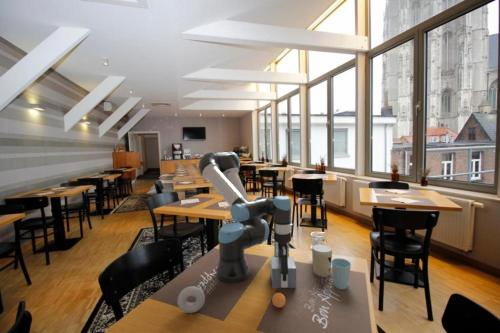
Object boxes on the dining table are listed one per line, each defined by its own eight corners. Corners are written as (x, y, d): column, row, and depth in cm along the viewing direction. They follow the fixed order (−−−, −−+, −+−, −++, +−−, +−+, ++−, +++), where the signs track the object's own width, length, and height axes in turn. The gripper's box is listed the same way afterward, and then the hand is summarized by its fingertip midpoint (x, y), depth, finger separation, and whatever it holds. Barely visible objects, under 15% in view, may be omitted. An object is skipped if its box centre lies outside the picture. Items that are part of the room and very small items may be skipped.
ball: (269, 306, 92) (269, 294, 92) (277, 300, 96) (277, 288, 95) (280, 312, 89) (280, 299, 88) (288, 305, 93) (288, 293, 92)
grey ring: (177, 317, 88) (176, 291, 87) (178, 310, 91) (177, 285, 90) (205, 313, 89) (204, 287, 88) (205, 307, 93) (204, 282, 92)
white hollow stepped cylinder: (325, 263, 123) (325, 234, 122) (311, 262, 125) (311, 234, 123) (323, 256, 130) (323, 229, 129) (310, 256, 132) (310, 229, 130)
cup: (343, 279, 109) (344, 257, 108) (354, 289, 101) (354, 266, 100) (328, 281, 108) (328, 259, 106) (337, 292, 100) (337, 268, 99)
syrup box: (281, 252, 137) (280, 227, 135) (289, 255, 133) (289, 230, 131) (274, 255, 133) (274, 230, 132) (282, 259, 129) (282, 232, 127)
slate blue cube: (272, 288, 104) (272, 268, 103) (270, 275, 114) (270, 257, 113) (296, 287, 103) (296, 268, 103) (292, 274, 114) (292, 256, 113)
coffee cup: (333, 278, 110) (333, 253, 109) (312, 276, 112) (312, 251, 111) (330, 267, 119) (331, 244, 118) (311, 266, 121) (311, 243, 120)
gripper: (295, 242, 95) (295, 295, 97) (287, 222, 117) (287, 266, 120) (276, 242, 95) (276, 295, 97) (272, 223, 118) (272, 266, 120)
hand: (282, 279), depth 109 cm, fingers closed on slate blue cube, 10 cm apart
